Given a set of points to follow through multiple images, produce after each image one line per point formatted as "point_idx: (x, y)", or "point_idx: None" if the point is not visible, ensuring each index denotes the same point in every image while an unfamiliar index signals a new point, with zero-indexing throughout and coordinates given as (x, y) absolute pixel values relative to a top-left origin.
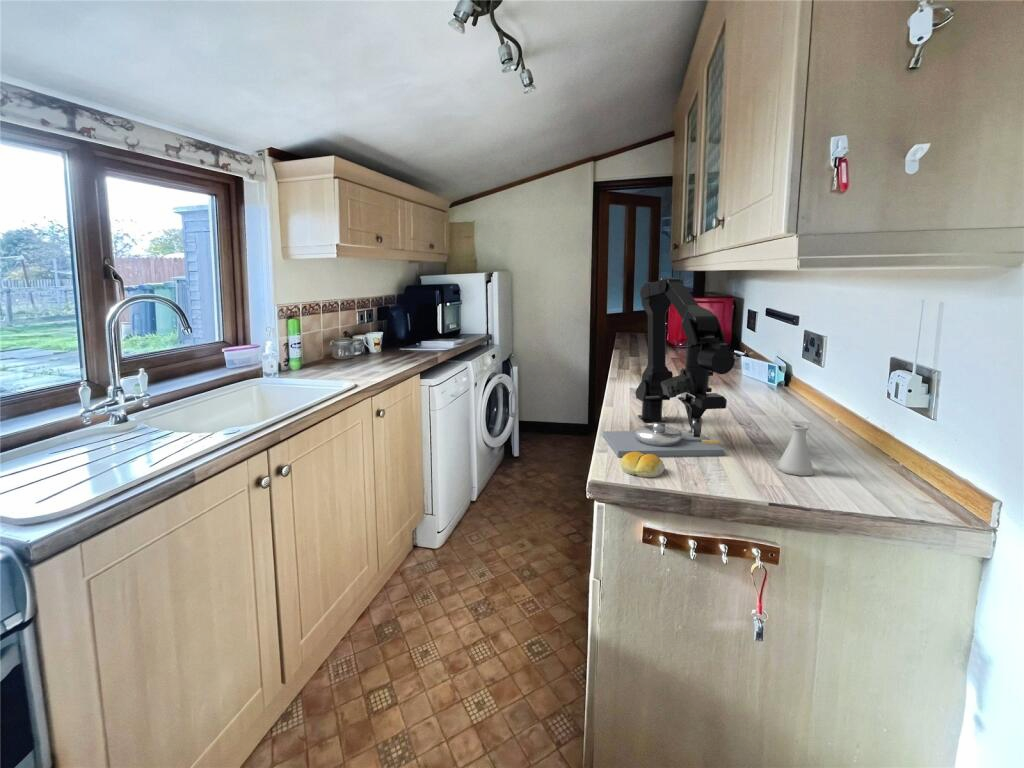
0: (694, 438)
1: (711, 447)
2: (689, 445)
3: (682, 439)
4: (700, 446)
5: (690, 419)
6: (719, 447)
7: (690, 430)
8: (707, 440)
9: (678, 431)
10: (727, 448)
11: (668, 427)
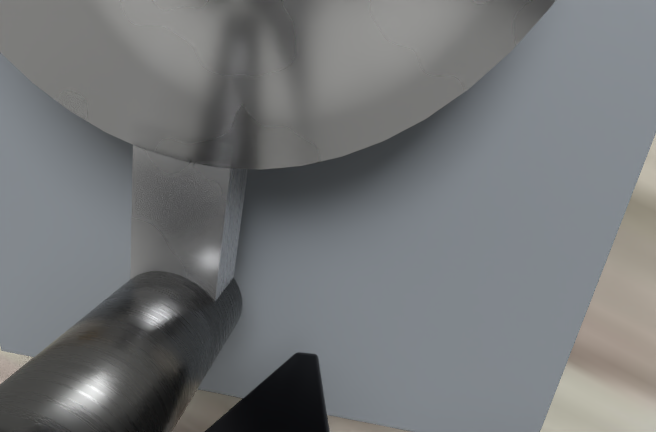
0: (277, 298)
1: (36, 294)
2: (64, 141)
3: (256, 171)
4: (49, 225)
5: (238, 424)
6: (44, 346)
7: (535, 399)
8: None
9: (193, 125)
10: (186, 420)
11: (417, 67)
